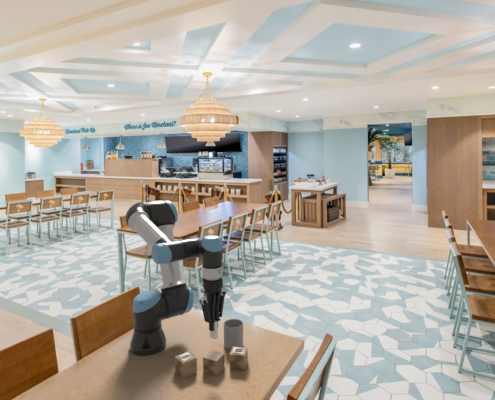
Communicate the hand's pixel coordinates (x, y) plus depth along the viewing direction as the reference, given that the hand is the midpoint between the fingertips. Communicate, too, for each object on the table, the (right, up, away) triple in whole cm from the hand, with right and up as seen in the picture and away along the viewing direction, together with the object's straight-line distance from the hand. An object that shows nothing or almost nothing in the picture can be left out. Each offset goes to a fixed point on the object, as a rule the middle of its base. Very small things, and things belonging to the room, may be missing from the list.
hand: (213, 337), depth 131 cm
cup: (+7, -12, +20) cm, 24 cm away
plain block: (0, -13, +2) cm, 13 cm away
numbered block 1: (-11, -13, 0) cm, 17 cm away
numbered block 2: (+9, -13, +5) cm, 17 cm away
